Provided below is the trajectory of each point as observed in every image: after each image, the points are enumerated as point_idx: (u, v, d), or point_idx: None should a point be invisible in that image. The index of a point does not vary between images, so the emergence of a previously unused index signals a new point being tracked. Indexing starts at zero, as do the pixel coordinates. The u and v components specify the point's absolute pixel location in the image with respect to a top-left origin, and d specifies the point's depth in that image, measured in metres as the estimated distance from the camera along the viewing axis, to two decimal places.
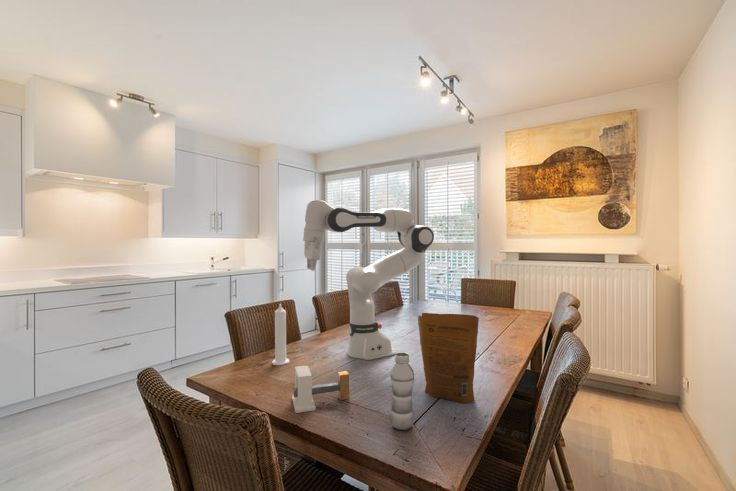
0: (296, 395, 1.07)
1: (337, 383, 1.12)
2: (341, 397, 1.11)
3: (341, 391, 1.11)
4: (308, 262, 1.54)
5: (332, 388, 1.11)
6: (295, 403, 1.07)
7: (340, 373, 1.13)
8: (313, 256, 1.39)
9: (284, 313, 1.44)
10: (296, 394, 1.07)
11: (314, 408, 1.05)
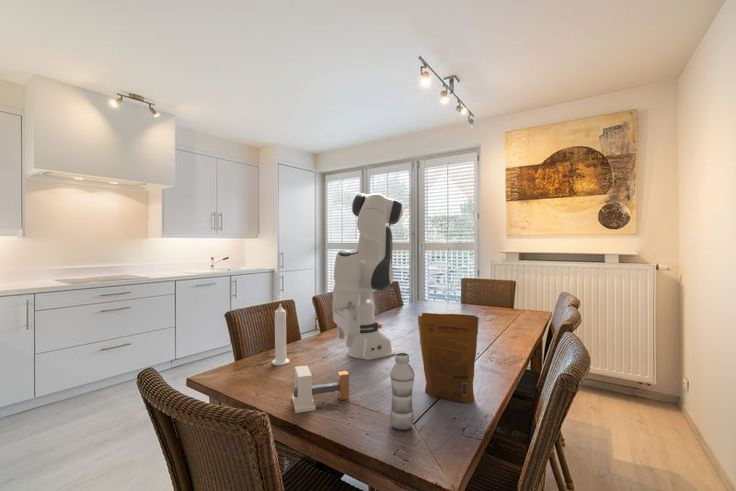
0: (296, 395, 1.07)
1: (337, 383, 1.12)
2: (341, 397, 1.11)
3: (341, 391, 1.11)
4: (339, 330, 1.18)
5: (332, 388, 1.11)
6: (295, 403, 1.07)
7: (340, 373, 1.13)
8: (351, 331, 1.03)
9: (284, 313, 1.44)
10: (296, 394, 1.07)
11: (314, 408, 1.05)
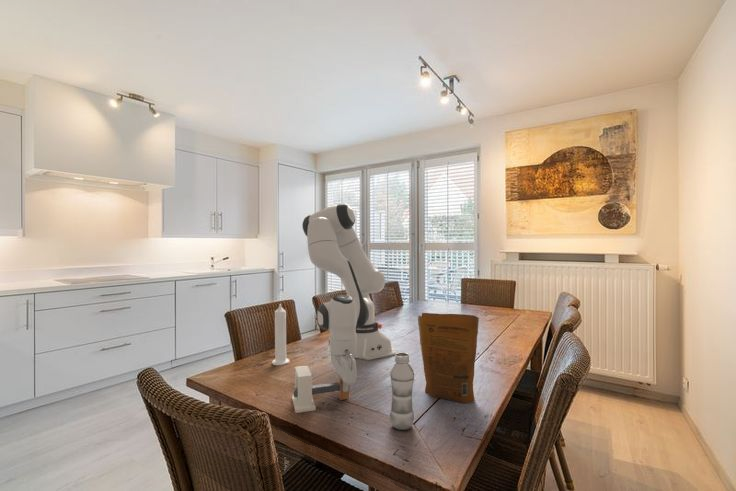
0: (296, 395, 1.07)
1: (337, 383, 1.12)
2: (341, 397, 1.11)
3: (341, 391, 1.11)
4: None
5: (332, 388, 1.11)
6: (295, 403, 1.07)
7: None
8: (348, 382, 1.03)
9: (284, 313, 1.44)
10: (296, 394, 1.07)
11: (314, 408, 1.05)
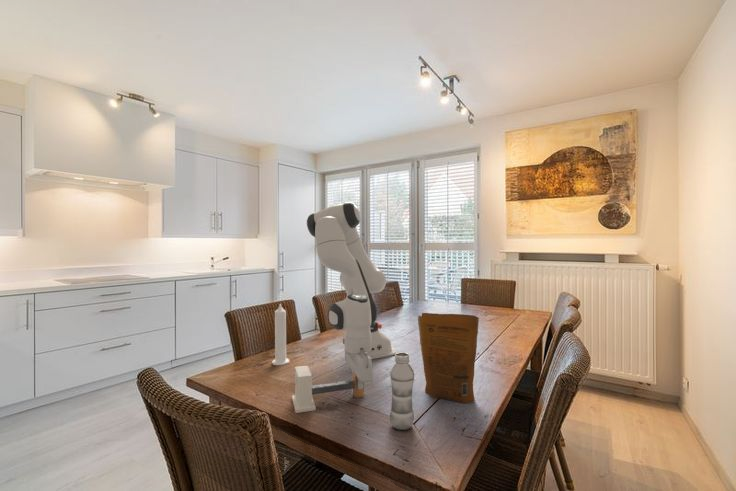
0: (312, 393, 1.09)
1: (352, 381, 1.14)
2: (356, 395, 1.13)
3: (356, 389, 1.13)
4: None
5: (347, 386, 1.12)
6: (295, 403, 1.07)
7: None
8: (364, 379, 1.05)
9: (284, 313, 1.44)
10: (312, 392, 1.09)
11: (314, 408, 1.05)
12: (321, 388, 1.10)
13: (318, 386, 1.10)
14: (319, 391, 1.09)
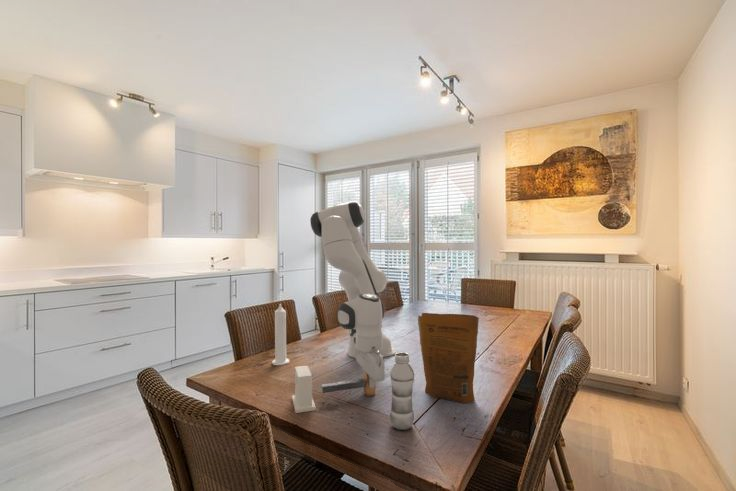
0: (325, 391, 1.10)
1: (363, 379, 1.15)
2: (367, 393, 1.14)
3: (367, 387, 1.14)
4: None
5: (359, 384, 1.14)
6: (295, 403, 1.07)
7: None
8: (376, 378, 1.06)
9: (284, 313, 1.44)
10: (325, 390, 1.10)
11: (314, 408, 1.05)
12: (333, 386, 1.11)
13: (330, 384, 1.11)
14: (331, 389, 1.11)
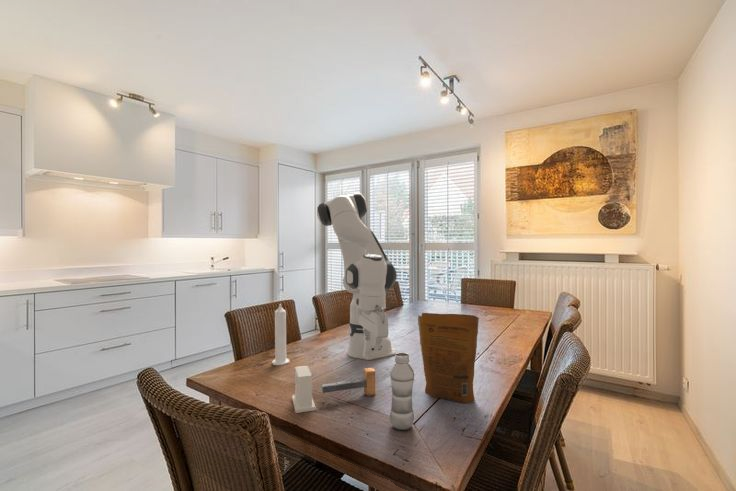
0: (325, 391, 1.10)
1: (363, 379, 1.15)
2: (368, 393, 1.14)
3: (368, 387, 1.14)
4: (365, 332, 1.21)
5: (359, 384, 1.14)
6: (295, 403, 1.07)
7: (366, 370, 1.15)
8: (380, 334, 1.06)
9: (284, 313, 1.44)
10: (325, 390, 1.10)
11: (314, 408, 1.05)
12: (333, 386, 1.11)
13: (330, 384, 1.11)
14: (331, 389, 1.11)
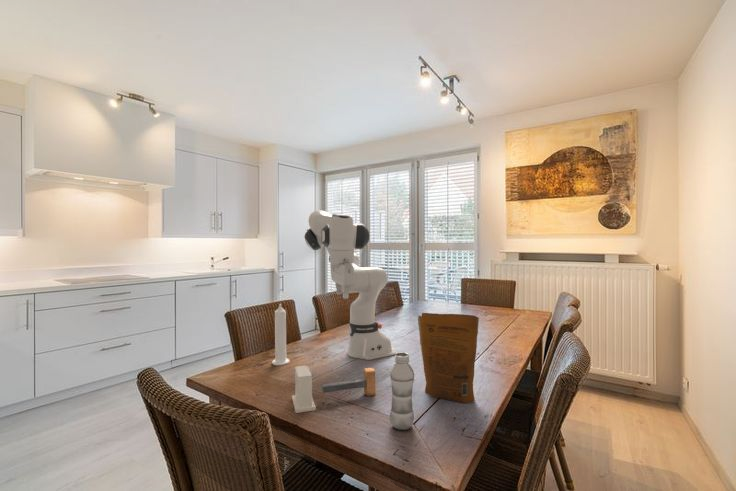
0: (325, 391, 1.10)
1: (363, 379, 1.15)
2: (368, 393, 1.14)
3: (368, 387, 1.14)
4: (337, 287, 1.31)
5: (359, 384, 1.14)
6: (295, 403, 1.07)
7: (366, 370, 1.15)
8: (346, 283, 1.16)
9: (284, 313, 1.44)
10: (325, 390, 1.10)
11: (314, 408, 1.05)
12: (333, 386, 1.11)
13: (330, 384, 1.11)
14: (331, 389, 1.11)
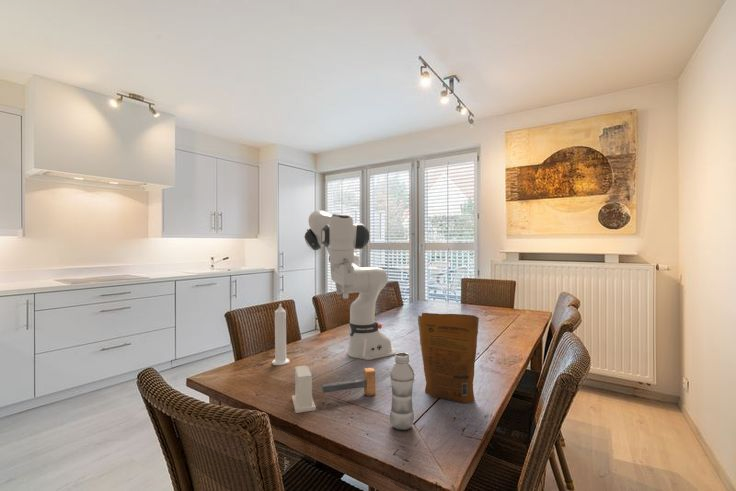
0: (325, 391, 1.10)
1: (363, 379, 1.15)
2: (368, 393, 1.14)
3: (368, 387, 1.14)
4: (337, 287, 1.31)
5: (359, 384, 1.14)
6: (295, 403, 1.07)
7: (366, 370, 1.15)
8: (346, 283, 1.16)
9: (284, 313, 1.44)
10: (325, 390, 1.10)
11: (314, 408, 1.05)
12: (333, 386, 1.11)
13: (330, 384, 1.11)
14: (331, 389, 1.11)
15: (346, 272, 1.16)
